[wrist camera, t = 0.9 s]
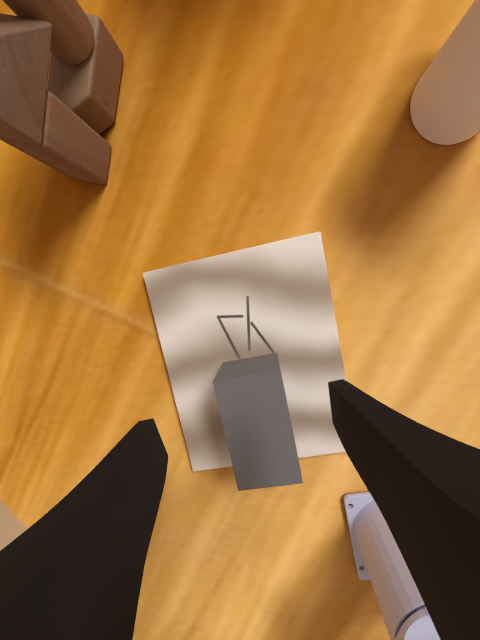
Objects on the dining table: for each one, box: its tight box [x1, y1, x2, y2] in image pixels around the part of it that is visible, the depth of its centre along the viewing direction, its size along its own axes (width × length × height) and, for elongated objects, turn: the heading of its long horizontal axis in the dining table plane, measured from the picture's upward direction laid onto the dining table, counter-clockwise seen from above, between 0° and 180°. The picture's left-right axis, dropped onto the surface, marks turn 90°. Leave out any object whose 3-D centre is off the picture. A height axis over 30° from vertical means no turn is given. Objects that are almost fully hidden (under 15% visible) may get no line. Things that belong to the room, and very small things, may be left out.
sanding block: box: [213, 352, 303, 491], centre depth 22 cm, size 9×5×5 cm, turn 12°
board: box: [143, 231, 346, 472], centre depth 25 cm, size 20×16×1 cm
